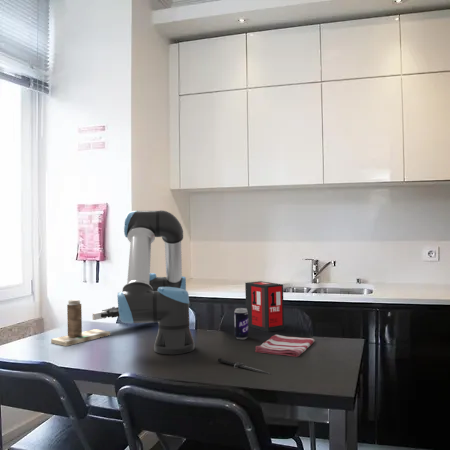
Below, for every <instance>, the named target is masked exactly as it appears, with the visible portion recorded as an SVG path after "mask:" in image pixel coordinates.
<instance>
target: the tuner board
mask: <svg viewBox="0 0 450 450" xmlns="http://www.w3.org/2000/svg"><path fill="white" fill-rule="evenodd" d="M108 335H109V336H111V331H107V330H103V329H96V328H95V329H91V330H90V329H89V330H85V331H82V336H83V337H74V338H73V337H68V334H67V335H63V336H59V337H54V338H51V340H50V341H51V342H50V343H51V344H55V345H60V346H64V347H68V346H72V345H76V344H80V343H83V342H89V341H93V340H96V339H97V340H98V339H100V337H101V338H104V336H105V337H107V336H108Z"/></svg>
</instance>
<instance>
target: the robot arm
mask: <svg viewBox="0 0 450 450" xmlns="http://www.w3.org/2000/svg"><path fill="white" fill-rule="evenodd" d="M123 232H124V236H125V238H127V241H128V242H129V243H130V244H129V245H130V246H129V257H128V270H127V279H126V280H127V282H126V284H125V285H123V287H122V290H121V291H119V292H117V307H115V306H112V307H110V308H106V309H102V310H101V311H99V312H98V311H97V312H93V313H92V321H97V320H101V319H106V318H119V320H120V322H121V323H123V324H133V325H134V324H147V323H149V324H150V323H158V330H157V335H156V337H155V341H154V345H153V347H154V348H153V350H154V352H155V353H157V354H160V355H182V354H187V353H190V352H193V351H194V350H195V340H194V337H193V334H192V332H191V329H190V296H189V295H190V294H189V291H188V290H187V277H186V276H183V270H182V269H183V268H182V267H183V266H182V265H183V263H182V260H183V259H182V241H183V239H184V230H183V225H182V224H181V222H180V221H179V220H178V219H177V217H176V216H175V215H174V214H173V213H171V212H170V211H166V210H132V211H128V213H126V215H125V219H124V226H123ZM155 238H161V240H162V241H163V242H164V255H165V256H164V258H165V260H164V261H165V275H166V276H157V273H154V272H151V256H152V255H151V253H152V251H151V250H152V244H153V243H154V242H155Z"/></svg>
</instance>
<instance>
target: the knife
mask: <svg viewBox="0 0 450 450" xmlns="http://www.w3.org/2000/svg"><path fill="white" fill-rule="evenodd" d="M217 362H219V363H224V364H227V365H230V366H233V368H234V369H238V368H241V369H246V370H250V371H252V372H256V373H260V374H265V375H271V376H273V374H272V373H270V372H267V371H265V370H261V369H257V368H255V367H252V366H247V365H245V363H244V362H235V361H230V360H228V359H224V358H222V357H219V358H218V359H217Z"/></svg>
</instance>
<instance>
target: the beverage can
mask: <svg viewBox="0 0 450 450" xmlns="http://www.w3.org/2000/svg"><path fill="white" fill-rule="evenodd" d="M233 313H234V314H233V315H234V316H233V318H234V319H233V321H234V322H233V323H234V324H233V325H234V338H236V339H237V340H246V339H247V338H248V337H249V326H248V311H247V309H246V307H245V308H244V307H237V308H235V309H234V312H233Z"/></svg>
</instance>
